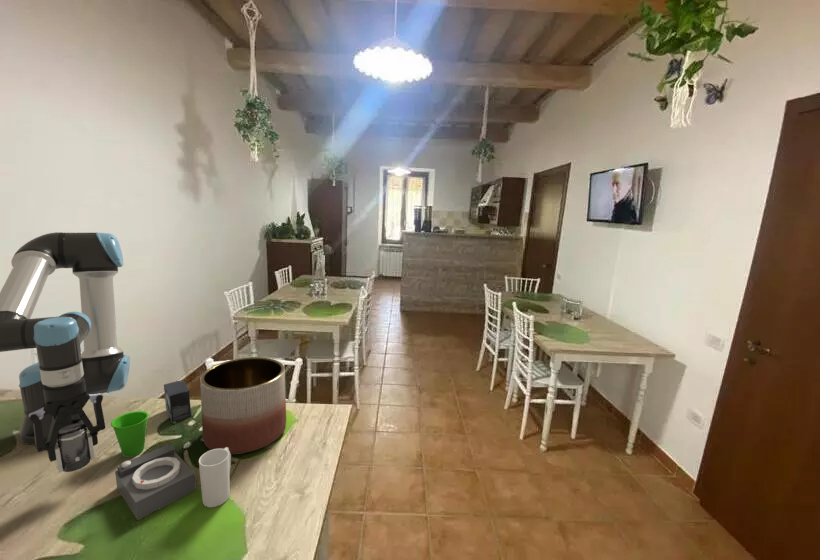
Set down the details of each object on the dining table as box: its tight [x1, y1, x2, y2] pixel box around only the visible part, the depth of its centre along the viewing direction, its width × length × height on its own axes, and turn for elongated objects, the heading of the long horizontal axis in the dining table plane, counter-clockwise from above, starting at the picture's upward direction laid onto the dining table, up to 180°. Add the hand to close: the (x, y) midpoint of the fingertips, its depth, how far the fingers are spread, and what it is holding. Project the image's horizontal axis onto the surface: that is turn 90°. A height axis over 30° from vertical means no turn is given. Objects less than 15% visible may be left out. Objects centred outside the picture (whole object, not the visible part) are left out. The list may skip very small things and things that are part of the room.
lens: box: [56, 423, 91, 473], centre depth 92 cm, size 6×6×10 cm
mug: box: [198, 447, 232, 508], centre depth 95 cm, size 10×7×12 cm, turn 174°
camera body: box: [114, 444, 197, 521], centre depth 95 cm, size 16×13×7 cm
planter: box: [199, 356, 287, 455], centre depth 120 cm, size 25×25×22 cm
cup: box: [110, 410, 150, 458], centre depth 109 cm, size 9×9×11 cm
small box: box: [163, 379, 192, 423], centre depth 130 cm, size 11×6×10 cm, turn 43°
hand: (76, 462), depth 93 cm, fingers closed on lens, 5 cm apart
